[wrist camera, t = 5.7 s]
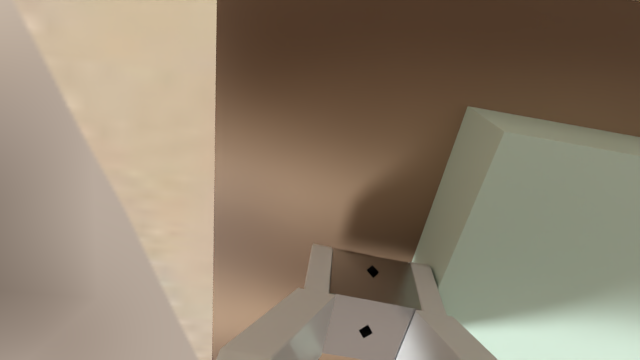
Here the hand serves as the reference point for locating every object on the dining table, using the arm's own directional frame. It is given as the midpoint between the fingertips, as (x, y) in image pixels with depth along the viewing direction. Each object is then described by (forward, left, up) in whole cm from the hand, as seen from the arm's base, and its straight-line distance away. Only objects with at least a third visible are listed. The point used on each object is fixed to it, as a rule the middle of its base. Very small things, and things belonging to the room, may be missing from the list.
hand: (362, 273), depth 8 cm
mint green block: (0, +4, -1) cm, 5 cm away
